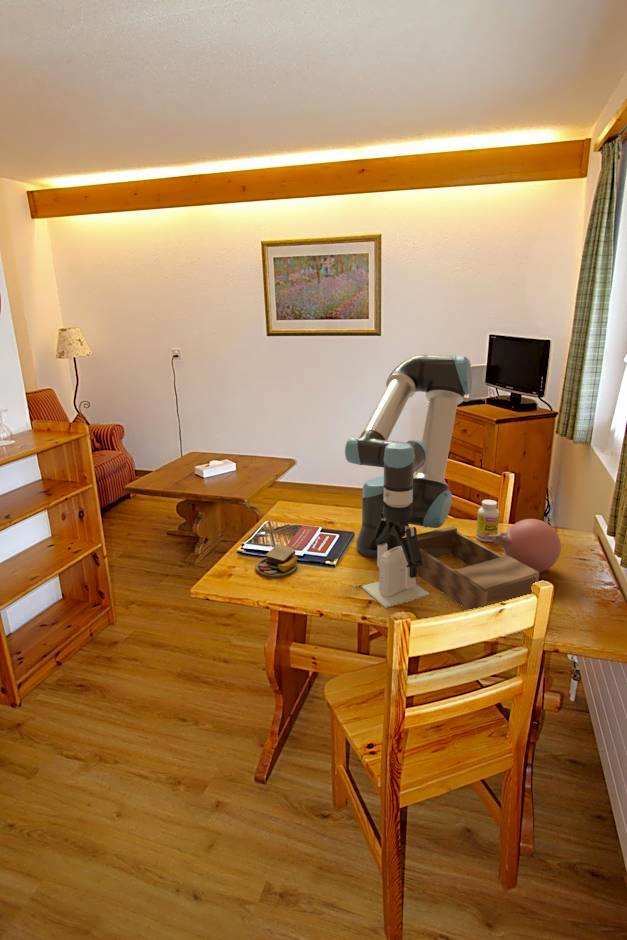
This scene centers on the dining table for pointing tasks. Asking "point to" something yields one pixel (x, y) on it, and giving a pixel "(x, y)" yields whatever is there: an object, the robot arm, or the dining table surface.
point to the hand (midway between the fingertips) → (395, 576)
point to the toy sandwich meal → (278, 562)
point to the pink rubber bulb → (530, 543)
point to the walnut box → (472, 570)
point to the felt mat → (396, 598)
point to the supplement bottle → (487, 520)
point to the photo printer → (392, 571)
